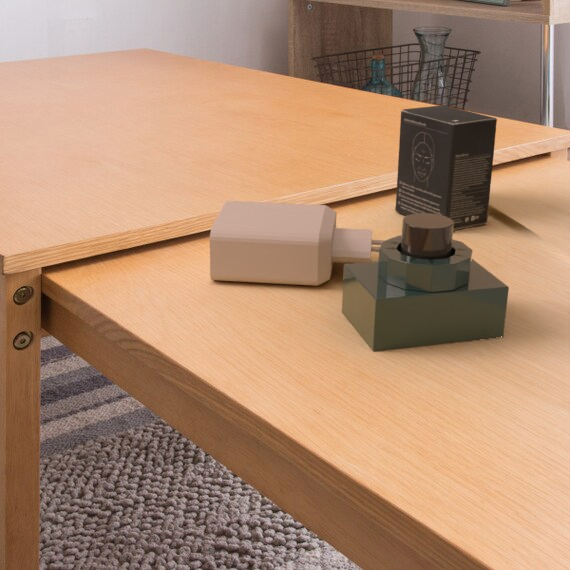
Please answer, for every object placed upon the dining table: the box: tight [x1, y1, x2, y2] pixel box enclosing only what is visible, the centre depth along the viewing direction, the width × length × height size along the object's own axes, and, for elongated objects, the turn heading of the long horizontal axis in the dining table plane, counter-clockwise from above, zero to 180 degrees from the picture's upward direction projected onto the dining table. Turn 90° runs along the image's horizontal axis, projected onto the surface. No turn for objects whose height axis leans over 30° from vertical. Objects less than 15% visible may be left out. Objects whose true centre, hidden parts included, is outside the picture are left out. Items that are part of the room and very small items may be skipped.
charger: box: [209, 200, 385, 287], centre depth 78 cm, size 5×9×15 cm
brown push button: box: [401, 213, 454, 260], centre depth 66 cm, size 4×4×2 cm
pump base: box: [341, 234, 510, 353], centre depth 68 cm, size 10×7×6 cm
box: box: [395, 104, 498, 231], centre depth 91 cm, size 8×6×11 cm
